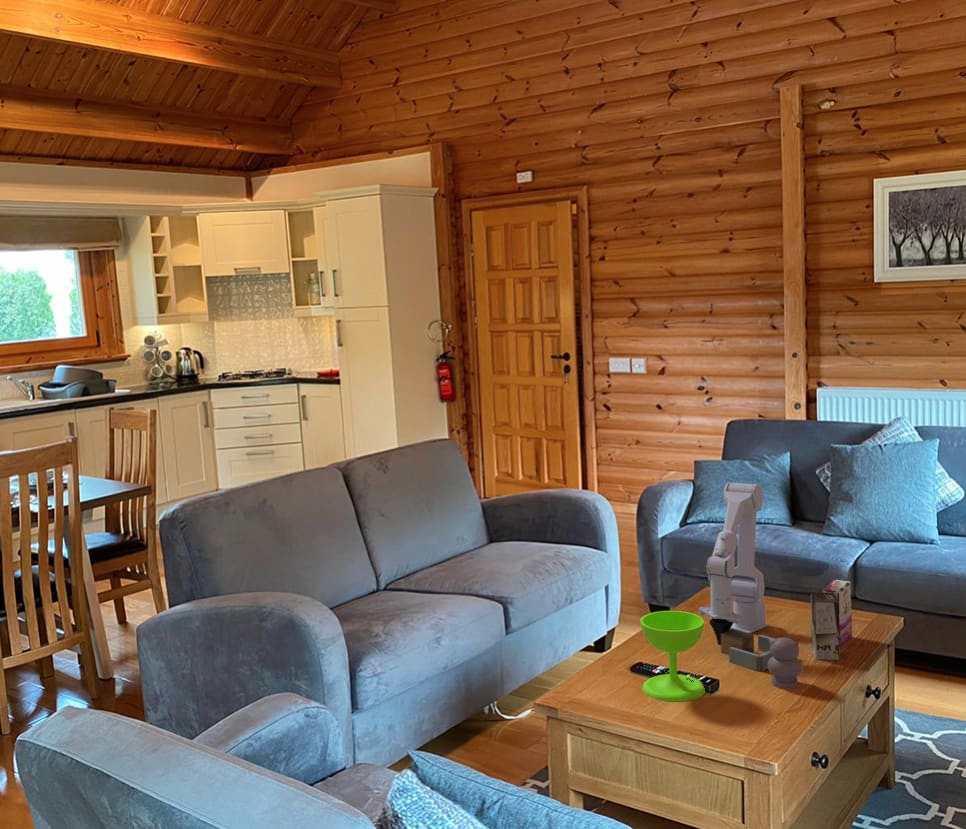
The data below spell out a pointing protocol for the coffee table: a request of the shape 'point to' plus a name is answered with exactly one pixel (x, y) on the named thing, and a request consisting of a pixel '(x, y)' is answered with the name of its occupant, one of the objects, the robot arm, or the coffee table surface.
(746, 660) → the bay
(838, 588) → the candy bar box
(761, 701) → the coffee table surface
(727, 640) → the brown block
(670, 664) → the wineglass
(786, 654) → the grey stacked figurine
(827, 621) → the coffee box
